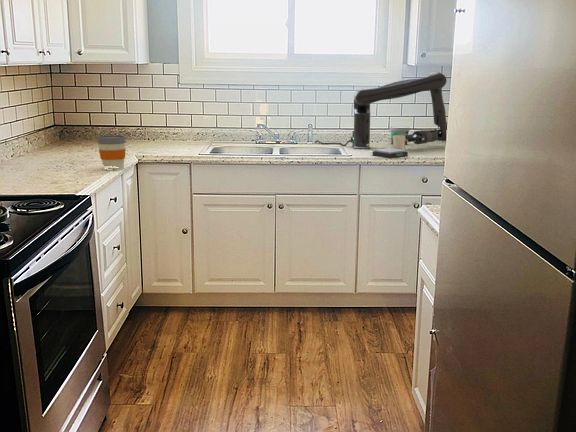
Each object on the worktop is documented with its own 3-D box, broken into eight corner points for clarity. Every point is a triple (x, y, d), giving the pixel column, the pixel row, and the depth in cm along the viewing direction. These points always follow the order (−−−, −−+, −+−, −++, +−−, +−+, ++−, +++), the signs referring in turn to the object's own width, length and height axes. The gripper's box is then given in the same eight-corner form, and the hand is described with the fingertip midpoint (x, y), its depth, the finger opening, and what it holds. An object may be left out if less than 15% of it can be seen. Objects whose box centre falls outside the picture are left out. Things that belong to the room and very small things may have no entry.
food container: (386, 144, 370) (386, 127, 368) (389, 143, 376) (390, 126, 373) (406, 145, 365) (406, 128, 363) (409, 144, 370) (410, 127, 368)
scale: (372, 155, 326) (372, 149, 325) (389, 153, 334) (389, 147, 333) (390, 158, 316) (391, 152, 315) (408, 156, 323) (408, 150, 323)
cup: (390, 152, 338) (390, 135, 336) (398, 151, 341) (398, 134, 339) (398, 153, 333) (399, 136, 331) (407, 152, 337) (407, 135, 334)
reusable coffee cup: (104, 166, 295) (102, 135, 291) (130, 166, 294) (128, 135, 291) (95, 171, 283) (93, 138, 279) (123, 171, 282) (120, 138, 278)
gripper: (412, 129, 351) (393, 131, 342) (432, 131, 340) (412, 133, 331) (412, 142, 353) (392, 144, 343) (431, 144, 342) (412, 147, 332)
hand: (402, 139), depth 337 cm, fingers open, 8 cm apart
